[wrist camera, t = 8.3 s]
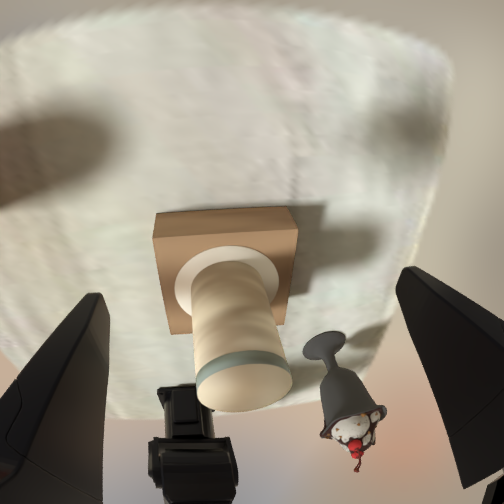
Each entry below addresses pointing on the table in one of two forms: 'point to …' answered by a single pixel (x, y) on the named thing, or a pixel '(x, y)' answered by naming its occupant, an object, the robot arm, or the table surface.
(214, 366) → the birch cylinder
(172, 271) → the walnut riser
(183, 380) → the table surface
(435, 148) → the table surface
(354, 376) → the sundae
